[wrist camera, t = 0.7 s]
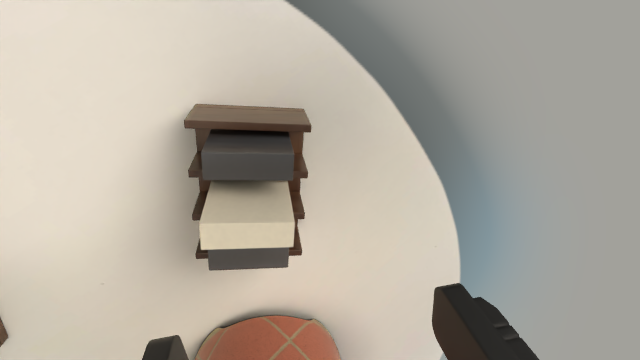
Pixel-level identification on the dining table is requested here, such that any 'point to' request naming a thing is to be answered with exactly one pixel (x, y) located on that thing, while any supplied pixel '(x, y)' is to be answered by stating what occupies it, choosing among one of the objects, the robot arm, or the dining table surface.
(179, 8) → the dining table surface
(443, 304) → the robot arm
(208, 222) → the white box
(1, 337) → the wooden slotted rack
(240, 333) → the planter
